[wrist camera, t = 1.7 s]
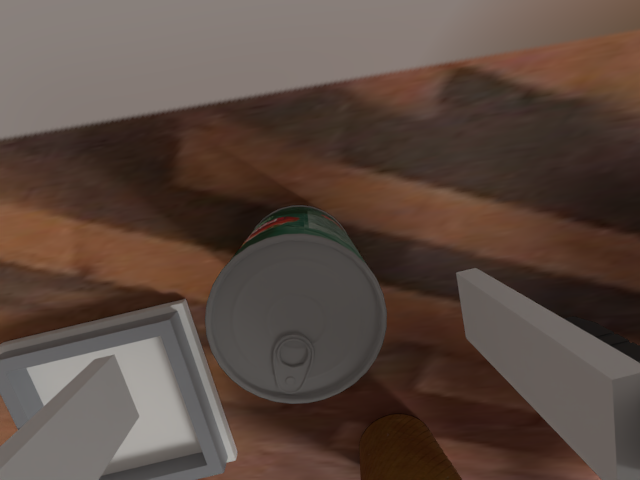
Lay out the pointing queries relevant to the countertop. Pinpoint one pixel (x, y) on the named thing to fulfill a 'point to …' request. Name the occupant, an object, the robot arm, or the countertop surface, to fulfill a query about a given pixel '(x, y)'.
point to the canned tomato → (296, 309)
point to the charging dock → (132, 389)
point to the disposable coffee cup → (402, 451)
